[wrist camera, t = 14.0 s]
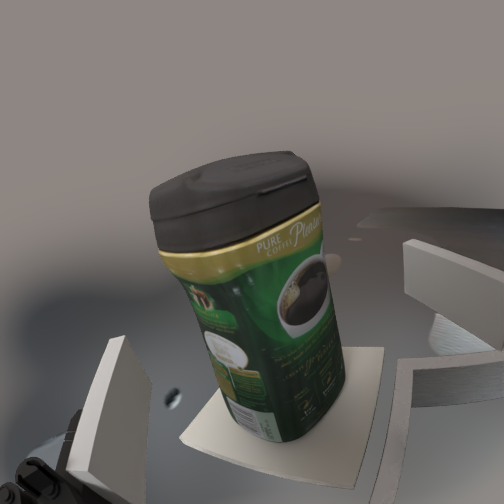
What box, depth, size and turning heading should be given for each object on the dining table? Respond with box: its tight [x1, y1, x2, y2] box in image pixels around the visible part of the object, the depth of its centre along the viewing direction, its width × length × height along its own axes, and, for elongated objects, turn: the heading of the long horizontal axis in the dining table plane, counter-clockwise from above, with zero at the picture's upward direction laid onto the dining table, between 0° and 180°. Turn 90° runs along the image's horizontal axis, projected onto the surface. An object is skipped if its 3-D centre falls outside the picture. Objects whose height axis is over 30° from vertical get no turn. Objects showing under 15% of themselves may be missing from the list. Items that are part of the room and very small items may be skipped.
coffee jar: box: [149, 151, 346, 443], centre depth 17 cm, size 10×8×19 cm
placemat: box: [179, 347, 385, 490], centre depth 20 cm, size 14×14×1 cm
